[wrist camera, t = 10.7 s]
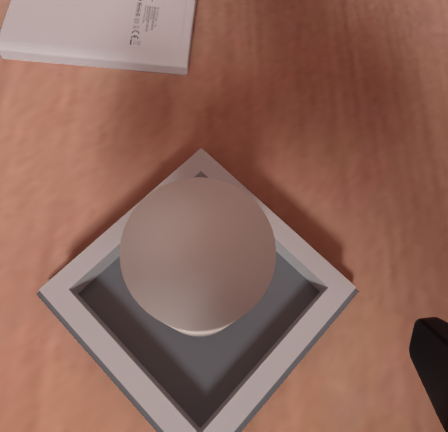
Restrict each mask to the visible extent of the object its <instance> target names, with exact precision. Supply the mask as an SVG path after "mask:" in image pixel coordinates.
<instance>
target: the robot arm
mask: <svg viewBox="0 0 448 432" xmlns="http://www.w3.org/2000/svg"><path fill="white" fill-rule="evenodd" d="M409 352H410V357H411V359H412V362H413V364H414V366H415V368H416V370H417V372H418V375H419V377H420V379H421V381H422V383H423V385H424V388H425V390H426V392H427V394H428V396H429V398H430V401H431V403H432V405H433V407H434V409H435V411H436V414H437V416H438V418H439V420H440V422H441V424H442V426H443V428H444V430H445V431H446V432H448V323H447V322H445V321H443V320H441V319H439V318H437V317H429V318H420V319H417V320H416V322H415V324H414V328H413V333H412V337H411V341H410V346H409Z"/></svg>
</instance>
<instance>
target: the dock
mask: <svg viewBox="0 0 448 432" xmlns="http://www.w3.org/2000/svg"><path fill="white" fill-rule="evenodd" d="M195 177H203V178H212V179H217V180H221V181H224V182H227V183H229V184H231V185H233V186H236V187H237V188H239V189H241V190H242V191H244V192H245V193H246V194H248V195H249V196H250V197H251V198H252V199H253V200H254V201H255V202H256V203H257V204H258V205H259V206H260V207H261V209H262V210H263V212H264V213H265V215H266V217H267V218H268V220H269V222H270V225H271V227H272V230H273V234H274V238H275V244H276V263H275V269H274V273H273V276H272V279H271V282H270V284H269V286H268V288H267V290H266V292H265V293H264V295H263V296H262V298H261V299H260V300H259V302H258V303H257V304H256V305H255V306H254V307H253V308H252V309H251V310H250V311H249V312H248V313H246V314H245V315H243V316H242V317H241V318H239V319H238V320H236V321H235V322H233V323H232V324H230V325H229V326H227V327H226V328H224V329H223V330H221V331H220V332H218V333H216V334H213V335H210V336H206V337H193V336H188V335H185V334H182V333H180V332H179V331H177V330H175V329H173V328H171V327H170V326H168V325H166V324H164V323H163V322H161V321H159V320H157V319H155V318H154V317H153V316H151V315H150V314H148V313H147V312H146V311H145V310H144V309H143V308H142V307H141V306H140V305H139V304H138V303H137V302H136V300H135V299H134V298H133V297H132V295H131V293H130V291H129V290H128V288H127V286H126V283H125V281H124V279H123V275H122V271H121V266H120V243H121V237H122V234H123V230H124V227H125V225H126V223H127V221H128V219H129V217H130V215H131V214H132V212H133V211H134V209H135V208H136V207H137V206H138V204H139V203H140V202H141V201H142V200H143V199H144V198H145V197H146V196H148V195H149V194H150V193H152V192H153V191H154V190H156V189H158V188H160V187H161V186H163V185H165V184H168V183H170V182H173V181H176V180H180V179H185V178H195ZM150 193H149V194H148V195H146V196H145V197H144V198H143V199H142V200H141V201H140V202H138V203H137V204H136V205H135V206H134V207H133V208H132V209H130V210H129V211H128V212H127V213H126V214H125V215H124V216H122V217H121V218H120V219H119V220H118V221H117V222H116V223H114V224H113V225H112V226H111V227H110V228H109V229H107V230H106V231H105V232H104V233H103V234H102V235H101V236H99V237H98V238H97V239H96V240H95V241H94V242H93V243H91V244H90V245H89V246H88V247H87V248H86V249H85V250H83V251H82V252H81V253H80V254H79V255H78V256H77V257H75V258H74V259H73V260H72V261H71V262H70V263H69V264H67V265H66V266H65V267H64V268H63V269H62V270H61V271H59V272H58V273H57V274H56V275H55V276H54V277H52V278H51V279H50V280H49V281H48V282H47V283H46V284H44V285H43V286H42V287H41V288H40V289H39V292H38V293H37V295H38V297H39V298H40V299H41V300H42V301H43V302H44V303H45V305H46V306H47V307H48V308H49V309H50V310H51V311H52V313H53V314H54V315H55V316H56V317H57V318H58V319H59V321H60V322H61V323H62V324H63V325H64V326H65V327H66V328H67V330H68V331H69V332H70V333H71V334H72V335H73V336H74V338H75V339H76V340H77V341H78V342H79V343H80V344H81V346H82V347H83V348H84V349H85V350H86V351H87V352H88V354H89V355H90V356H91V357H92V358H93V359H94V360H95V362H96V363H97V364H98V365H99V366H100V367H101V368H102V369H103V371H104V372H105V373H106V374H107V375H108V376H109V377H110V379H111V380H112V381H113V382H114V383H115V384H116V385H117V387H118V388H119V389H120V390H121V391H122V392H123V393H124V395H125V396H126V397H127V398H128V399H129V400H130V401H131V403H132V404H133V405H134V406H135V407H136V408H137V409H138V411H139V412H140V413H141V414H142V415H143V416H144V417H145V418H146V420H147V421H148V422H149V423H150V424H151V425H152V426H153V428H154V429H155V430H156V431H157V432H241V431H242V430H243V429H244V428H245V426H246V425H247V424H248V423H249V422H250V420H251V419H252V418H253V417H254V416H255V415H256V413H257V412H258V411H259V410H260V409H261V407H262V406H263V405H264V404H265V403H266V401H267V400H268V399H269V398H270V397H271V395H272V394H273V393H274V392H275V391H276V390H277V388H278V387H279V386H280V385H281V384H282V382H283V381H284V380H285V379H286V378H287V376H288V375H289V374H290V373H291V372H292V370H293V369H294V368H295V367H296V366H297V364H298V363H299V362H300V361H301V360H302V359H303V357H304V356H305V355H306V354H307V353H308V351H309V350H310V349H311V348H312V347H313V345H314V344H315V343H316V342H317V341H318V339H319V338H320V337H321V336H322V335H323V334H324V332H325V331H326V330H327V329H328V328H329V326H330V325H331V324H332V323H333V322H334V320H335V319H336V318H337V317H338V316H339V314H340V313H341V312H342V311H343V310H344V309H345V307H346V306H347V305H348V304H349V303H350V301H351V300H352V299H353V298H354V297H355V295H356V294H357V293H358V292H359V291H358V290H357V289H356V286H354V285H353V284H352V283H351V282H350V281H349V280H348V279H347V278H346V277H344V276H343V275H342V274H341V273H340V272H339V271H338V270H337V269H336V268H334V267H333V266H332V265H331V264H330V263H329V262H328V261H327V260H326V259H324V258H323V257H322V256H321V255H320V254H319V253H318V252H317V251H316V250H314V249H313V248H312V247H311V246H310V245H309V244H308V243H307V242H306V241H304V240H303V239H302V238H301V237H300V236H299V235H298V234H297V233H296V232H294V231H293V230H292V229H291V228H290V227H289V226H288V225H287V224H286V223H284V222H283V221H282V220H281V219H280V218H279V217H278V216H277V215H276V214H274V213H273V212H272V211H271V210H270V209H269V208H268V207H267V206H266V205H264V204H263V203H262V202H261V201H260V200H259V199H258V198H257V197H256V196H254V195H253V194H252V193H251V192H250V191H249V190H248V189H247V188H246V187H244V186H243V185H242V184H241V183H240V182H239V181H238V180H237V179H236V178H234V177H233V176H232V175H231V174H230V173H229V172H228V171H227V170H226V169H224V168H223V167H222V166H221V165H220V164H219V163H218V162H217V161H216V160H214V159H213V158H212V157H211V156H210V155H209V154H208V153H207V152H206V151H204V150H203V149H202V148H200V149H199V150H198V151H197V152H196V153H195V154H193V155H192V156H191V157H190V158H189V159H188V160H187V161H185V162H184V163H183V164H182V165H181V166H180V167H179V168H177V169H176V170H175V171H174V172H173V173H172V174H171V175H169V176H168V177H167V178H166V179H165V180H164V181H162V182H161V183H160V184H159V185H158V186H157V187H156V188H154V189H153V190H152V191H151V192H150Z"/></svg>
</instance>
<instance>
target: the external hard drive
mask: <svg viewBox="0 0 448 432" xmlns="http://www.w3.org/2000/svg"><path fill="white" fill-rule="evenodd" d="M196 4H197V0H11V1H10V4H9V7H8V10H7V13H6V16H5V19H4V21H3V25H2V27H1V30H0V55H1V57H2V58H3V59H12V60H23V61H34V62H46V63H57V64H68V65H79V66H90V67H101V68H112V69H123V70H134V71H145V72H156V73H167V74H178V75H188V67H189V59H190V51H191V43H192V32H193V23H194V19H195V12H196Z"/></svg>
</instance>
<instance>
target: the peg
mask: <svg viewBox="0 0 448 432" xmlns="http://www.w3.org/2000/svg"><path fill="white" fill-rule="evenodd" d="M275 263H276V244H275V238H274V234H273V230H272V227H271V225H270V222H269V220H268V218H267V217H266V215H265V213H264V212H263V210H262V209H261V207H260V206H259V205H258V204H257V203H256V202H255V201H254V200H253V199H252V198H251V197H250V196H249V195H248V194H246V193H245V192H244V191H242V190H241V189H239V188H237V187H236V186H233V185H231V184H229V183H227V182H224V181H221V180H217V179H212V178H203V177H195V178H185V179H180V180H176V181H173V182H170V183H168V184H165V185H163V186H161V187H160V188H158V189H156V190H154V191H153V192H152V193H150V194H149V195H148V196H146V197H145V198H144V199H143V200H142V201H141V202H140V203H139V204H138V206H137V207H136V208H135V209H134V211H133V212H132V214H131V215H130V217H129V219H128V221H127V223H126V225H125V227H124V230H123V234H122V237H121V243H120V266H121V271H122V275H123V279H124V281H125V283H126V286H127V288H128V290H129V291H130V293H131V295H132V297H133V298H134V299H135V300H136V302H137V303H138V304H139V305H140V306H141V307H142V308H143V309H144V310H145V311H146V312H147V313H148V314H150V315H151V316H153V317H154V318H155V319H157V320H159V321H161V322H163V323H164V324H166V325H168V326H170V327H171V328H173V329H175V330H177V331H179V332H180V333H182V334H185V335H188V336H193V337H206V336H210V335H213V334H216V333H218V332H220V331H221V330H223V329H224V328H226V327H227V326H229V325H230V324H232V323H233V322H235V321H236V320H238V319H239V318H241V317H242V316H243V315H245V314H246V313H248V312H249V311H250V310H251V309H252V308H253V307H254V306H255V305H256V304H257V303H258V302H259V300H260V299H261V298H262V296H263V295H264V293H265V292H266V290H267V288H268V286H269V284H270V282H271V279H272V276H273V273H274V269H275Z"/></svg>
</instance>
